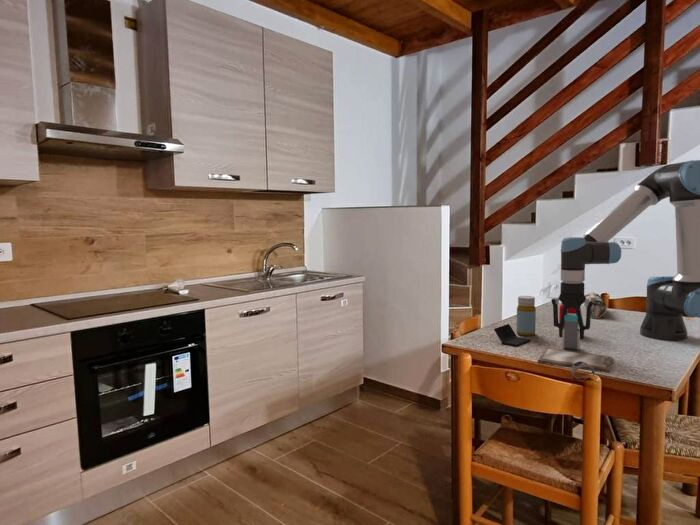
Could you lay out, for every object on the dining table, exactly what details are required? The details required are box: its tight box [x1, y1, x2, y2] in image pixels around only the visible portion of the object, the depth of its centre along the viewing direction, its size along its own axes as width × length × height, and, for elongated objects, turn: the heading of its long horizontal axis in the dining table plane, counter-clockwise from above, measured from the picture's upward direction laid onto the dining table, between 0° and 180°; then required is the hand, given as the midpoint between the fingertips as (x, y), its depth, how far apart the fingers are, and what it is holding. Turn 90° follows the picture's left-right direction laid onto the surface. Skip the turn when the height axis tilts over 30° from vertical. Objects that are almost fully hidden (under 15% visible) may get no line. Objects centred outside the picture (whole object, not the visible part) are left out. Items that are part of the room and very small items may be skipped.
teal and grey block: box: [563, 313, 580, 351], centre depth 162 cm, size 4×4×12 cm
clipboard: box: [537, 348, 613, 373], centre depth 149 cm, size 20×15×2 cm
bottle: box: [516, 295, 537, 337], centre depth 183 cm, size 7×7×15 cm
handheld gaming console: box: [493, 323, 531, 348], centre depth 173 cm, size 12×7×10 cm
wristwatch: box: [570, 361, 596, 380], centre depth 133 cm, size 4×6×5 cm, turn 85°
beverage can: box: [558, 302, 576, 328], centre depth 184 cm, size 6×6×12 cm
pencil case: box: [582, 291, 608, 319], centre depth 219 cm, size 22×8×10 cm, turn 157°
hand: (571, 347), depth 163 cm, fingers closed on teal and grey block, 4 cm apart
